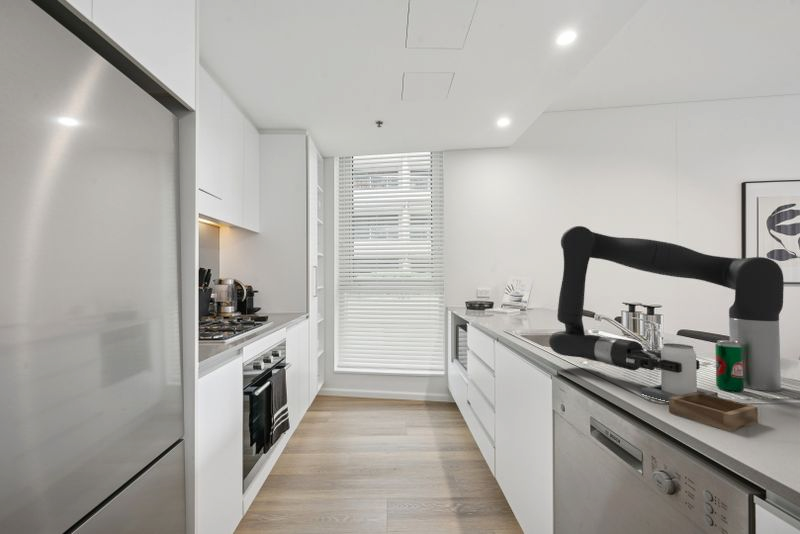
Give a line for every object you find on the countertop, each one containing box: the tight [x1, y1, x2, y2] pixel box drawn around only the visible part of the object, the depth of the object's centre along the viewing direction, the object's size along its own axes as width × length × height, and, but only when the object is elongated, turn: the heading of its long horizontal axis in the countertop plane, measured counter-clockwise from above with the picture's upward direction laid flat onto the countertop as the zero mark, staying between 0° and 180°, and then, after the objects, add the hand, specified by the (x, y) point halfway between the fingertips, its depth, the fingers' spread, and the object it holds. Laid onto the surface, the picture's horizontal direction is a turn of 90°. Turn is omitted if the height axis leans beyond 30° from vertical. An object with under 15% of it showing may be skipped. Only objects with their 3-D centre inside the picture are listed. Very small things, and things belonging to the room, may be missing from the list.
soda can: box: [714, 339, 745, 393], centre depth 89 cm, size 5×5×12 cm
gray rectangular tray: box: [640, 384, 719, 401], centre depth 82 cm, size 13×9×2 cm
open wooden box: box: [668, 392, 759, 432], centre depth 70 cm, size 10×10×3 cm
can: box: [660, 342, 698, 395], centre depth 82 cm, size 6×6×12 cm
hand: (689, 366), depth 80 cm, fingers closed on can, 6 cm apart
